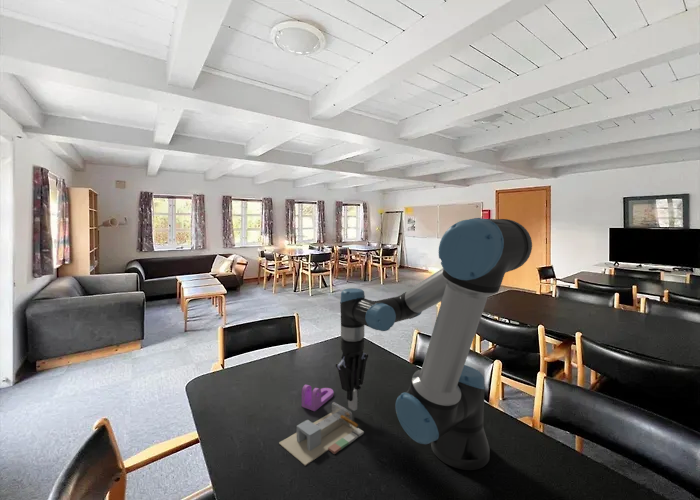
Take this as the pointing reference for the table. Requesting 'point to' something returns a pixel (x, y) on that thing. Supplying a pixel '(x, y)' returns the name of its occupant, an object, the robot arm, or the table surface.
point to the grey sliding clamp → (336, 420)
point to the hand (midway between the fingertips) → (352, 408)
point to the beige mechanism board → (318, 440)
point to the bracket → (315, 397)
